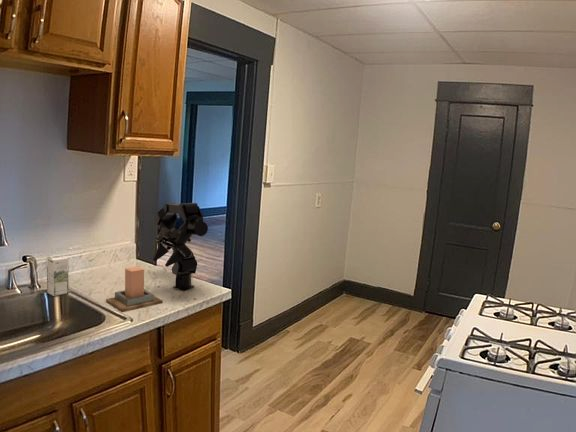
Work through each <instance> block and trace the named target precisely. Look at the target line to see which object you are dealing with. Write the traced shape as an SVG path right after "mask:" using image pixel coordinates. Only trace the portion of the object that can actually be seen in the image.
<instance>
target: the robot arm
mask: <svg viewBox="0 0 576 432" xmlns="http://www.w3.org/2000/svg"><path fill="white" fill-rule="evenodd" d="M178 216H179V217H180V218H181V219H182V221H184V222H183V223H182V224H181V226H179V228H178V229H177V228H176V223H177V220H178V218H179V217H178ZM154 224H155V225H156V228H157V229H158V231H160V232H159V235H158V236H157V238H155V240H156V245H157V248H156V251H155V254H154V256H153V258H152V261H153V262H157V261H158V260H159V259H161V258H162V257H163V256H165V255H166V254H168V253H169V252H170V250H171V249H172V254H171V255H170V257H169V258H168V260H167V261H166V263H165V264H164V265H165V267H166V268H167V267H171V266H172V267H171V273H172V274H173V275H175V281H174V282H175V285H173V286H172V289H177V290H179V291H188V290H190V289H192V288H195V285H193V284H192V274H196V272H197V268H198V261H197V259H196V256H195V254H194V252H193V251H192V250H191V248H189V247H188V246H187V242H189V243H190V242H191V241H192V239H191V238H192V236H196V237H197V236H198V237H203V236H206V234H207V233H208V231H209V228H208V224H207V223H206V222H205V221H204V215H203V212H202V210H201V208H200V206H199V205H198V203H197V202H188V203H187V202H183V203H175V202H169V203H168V202H167V203H164V204H163V206H162V208H160V209H159V211H157V212H156V215H155V217H154Z"/></svg>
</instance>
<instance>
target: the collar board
mask: <svg viewBox="0 0 576 432" xmlns="http://www.w3.org/2000/svg"><path fill="white" fill-rule="evenodd" d="M105 302H106V303H108V304H109V305H110V306H111V307H113V308H115V309H116V310H118V311H119V312H121V313H123V312H124V313H125V312H129V311H133V310H137V309H142V308H145V307H151V306H156V305H159V304H163V300H162V299H161V298H159V297H157V296H156V295H155V294H154V293H152V292H150V291H148V290H147V289H145V288H144V296H139V297H134V298H128V297H126V296H125V289H124V290H120V291H115V292H114V297H110V298H106V299H105Z"/></svg>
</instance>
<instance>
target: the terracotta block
mask: <svg viewBox="0 0 576 432" xmlns="http://www.w3.org/2000/svg"><path fill="white" fill-rule="evenodd" d="M124 280H125V281H124V290H125V296H126V297H128V298H134V297H139V296H144V289H145V269H144V268H142V267H140V266H132V267H125V268H124Z"/></svg>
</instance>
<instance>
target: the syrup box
mask: <svg viewBox="0 0 576 432" xmlns="http://www.w3.org/2000/svg"><path fill="white" fill-rule="evenodd" d="M46 284H47V285H46V290H47V291H46V292H47V294H49V295H50V296H53V297H57V296H63V295H66V294H67V293H68V294H69V289H70V288H69V258H68V257H67V256H65V255H63V254H59V255H58V254H57V255H52V256H47V257H46Z"/></svg>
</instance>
